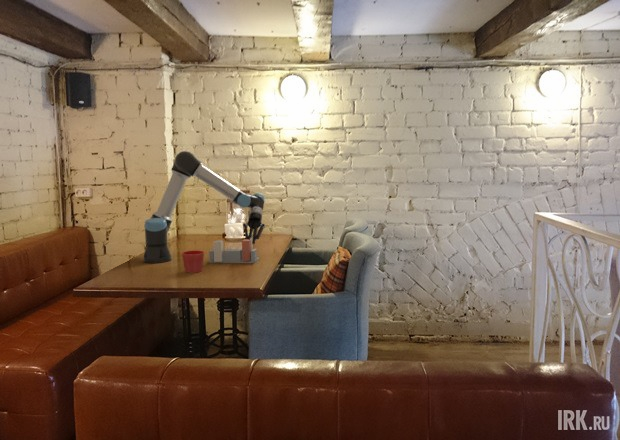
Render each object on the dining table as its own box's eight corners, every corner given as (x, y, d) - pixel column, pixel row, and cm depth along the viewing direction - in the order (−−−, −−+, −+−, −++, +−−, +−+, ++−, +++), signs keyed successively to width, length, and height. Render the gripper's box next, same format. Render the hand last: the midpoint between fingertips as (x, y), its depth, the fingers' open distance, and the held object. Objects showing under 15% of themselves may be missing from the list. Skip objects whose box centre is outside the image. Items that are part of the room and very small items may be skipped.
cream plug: (214, 261, 273) (213, 241, 271) (216, 260, 277) (215, 240, 275) (221, 261, 272) (220, 241, 271) (223, 260, 276) (223, 240, 275)
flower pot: (199, 273, 247) (198, 254, 246) (178, 273, 249) (177, 253, 248) (208, 269, 258) (207, 250, 256) (188, 268, 260) (187, 250, 259)
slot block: (209, 263, 274) (209, 251, 273) (215, 258, 286) (215, 247, 285) (254, 263, 272) (254, 250, 271) (259, 258, 284) (258, 247, 283)
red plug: (242, 260, 274) (241, 240, 272) (244, 259, 278) (243, 239, 277) (250, 260, 273) (249, 240, 272) (251, 259, 278) (251, 239, 276)
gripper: (243, 211, 298) (237, 244, 283) (265, 211, 296) (260, 244, 282) (246, 219, 304) (240, 252, 289) (267, 219, 302) (262, 252, 288)
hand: (250, 248), depth 285 cm, fingers closed
